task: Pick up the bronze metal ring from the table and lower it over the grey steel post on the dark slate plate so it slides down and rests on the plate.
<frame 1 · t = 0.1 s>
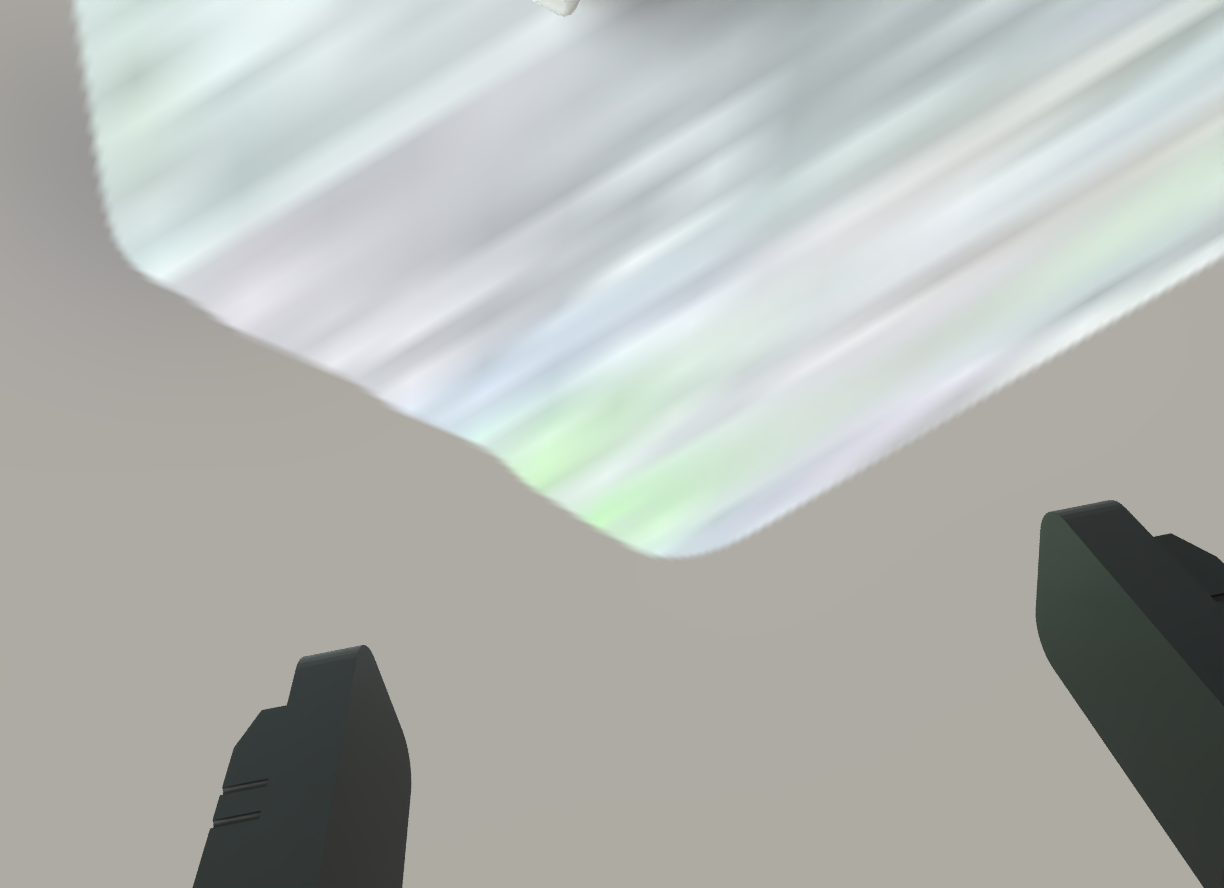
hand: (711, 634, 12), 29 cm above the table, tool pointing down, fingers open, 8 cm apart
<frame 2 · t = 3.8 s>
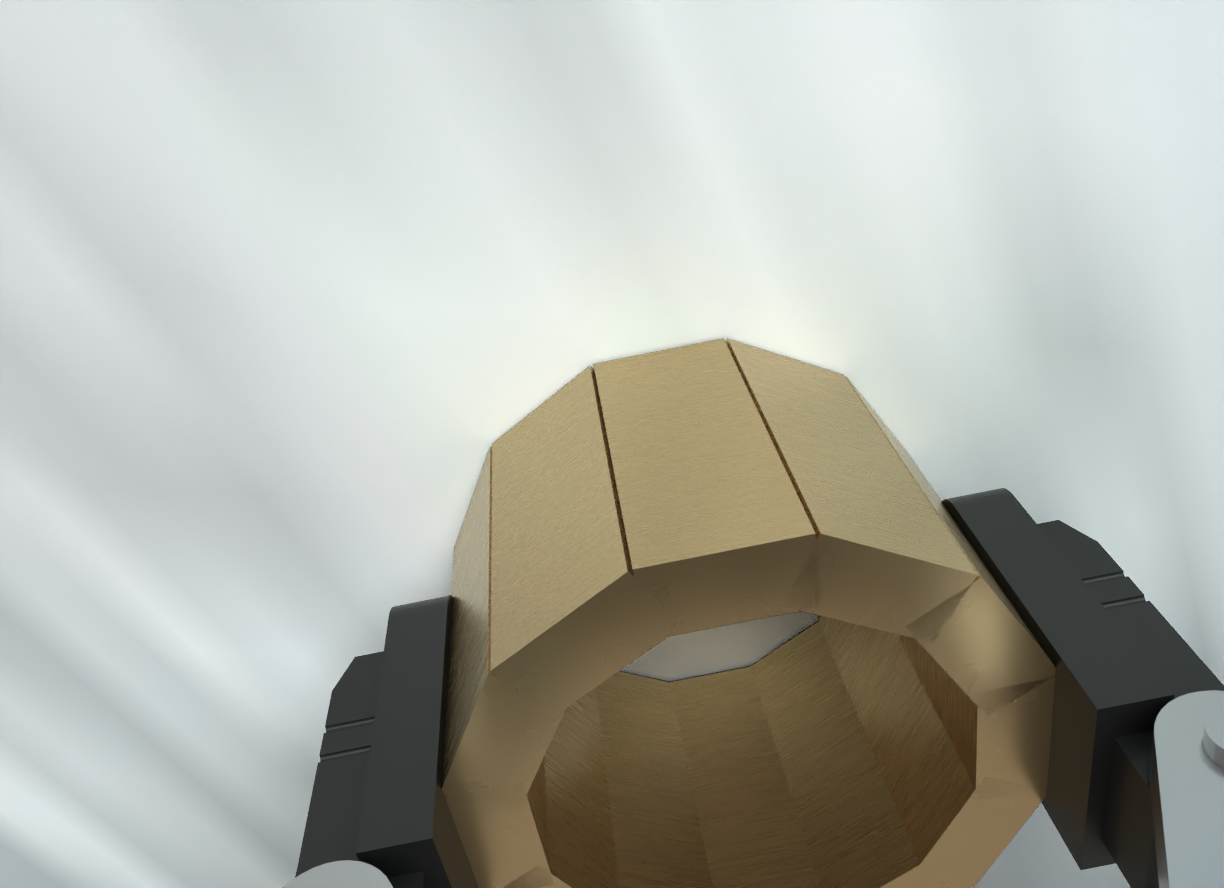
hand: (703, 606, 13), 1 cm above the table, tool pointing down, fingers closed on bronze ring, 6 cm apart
bronze ring: (690, 552, 13), on the table, touching gripper
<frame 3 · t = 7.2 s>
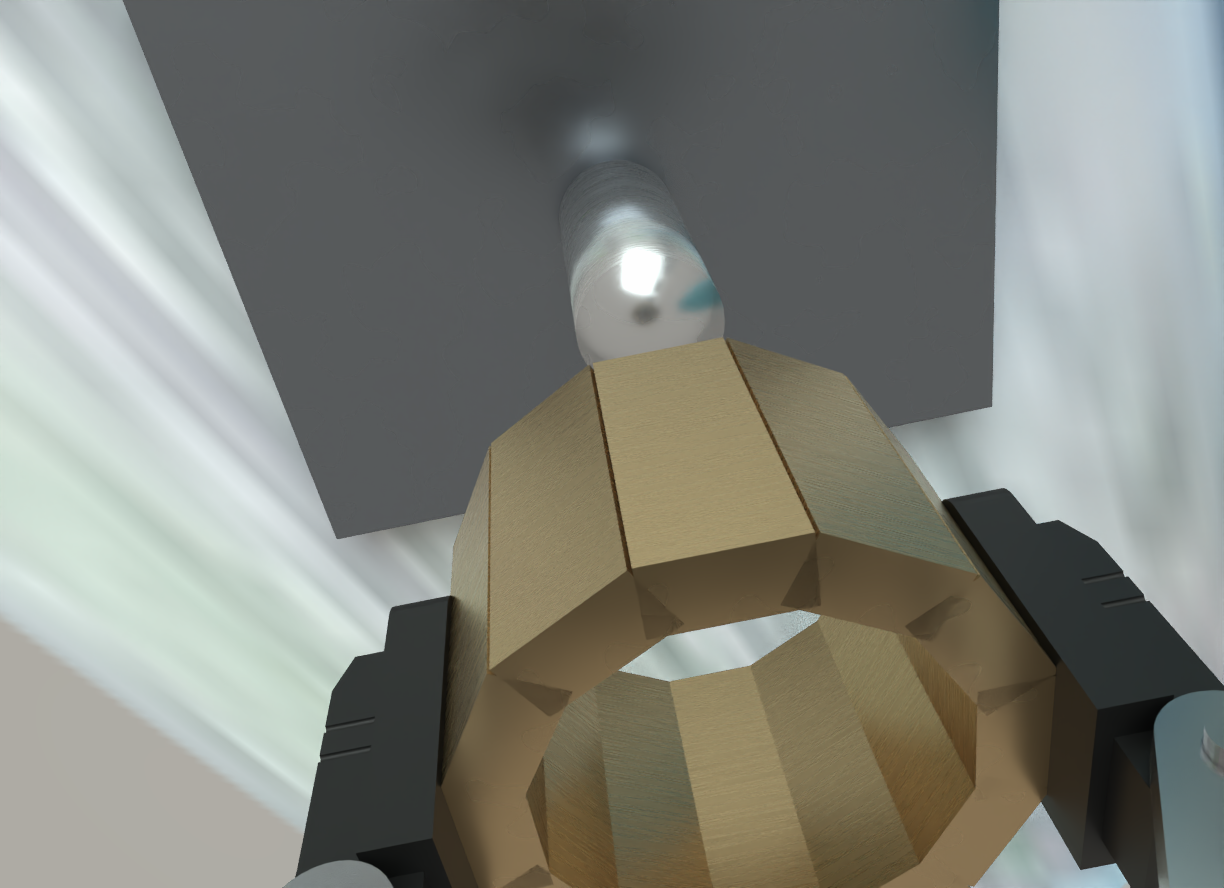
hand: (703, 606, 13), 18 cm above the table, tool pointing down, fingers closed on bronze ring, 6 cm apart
piston stand: (609, 195, 28), on the table
bronze ring: (690, 552, 13), point 17 cm above the table, touching gripper
when the fingers open (6 cm above the table, at t = 10.9 s): bronze ring drops 3 cm, resting on piston stand.
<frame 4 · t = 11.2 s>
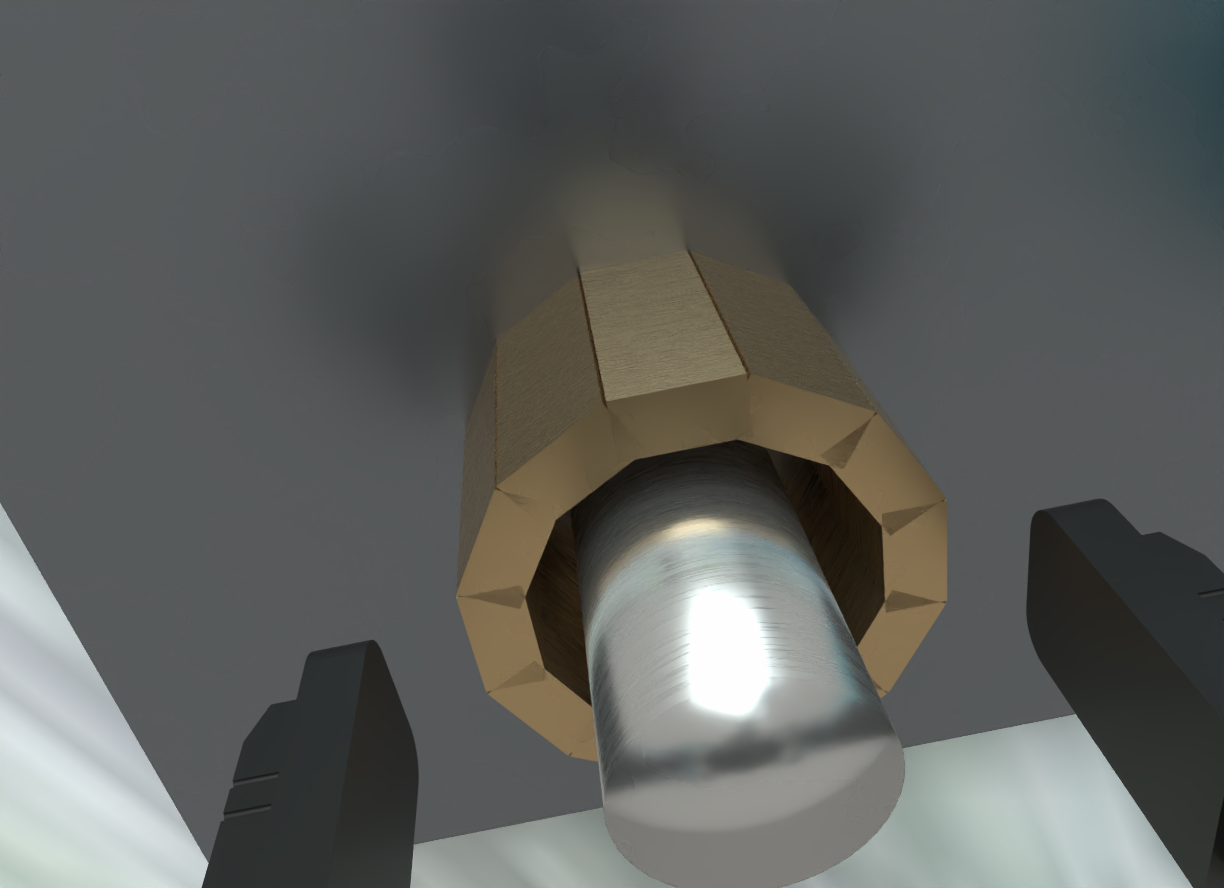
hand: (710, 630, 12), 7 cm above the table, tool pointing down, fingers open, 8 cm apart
piston stand: (642, 385, 18), on the table
bronze ring: (663, 439, 16), point 2 cm above the table, touching piston stand
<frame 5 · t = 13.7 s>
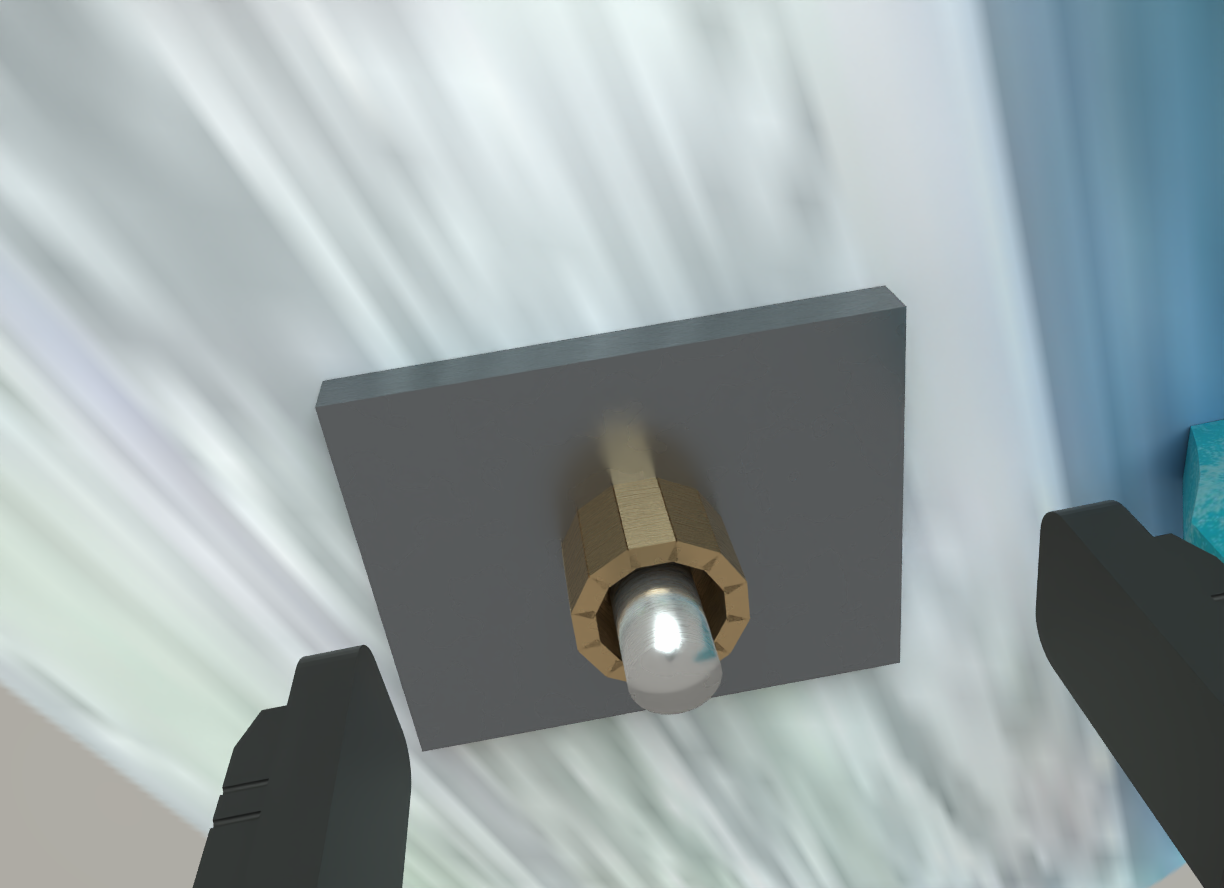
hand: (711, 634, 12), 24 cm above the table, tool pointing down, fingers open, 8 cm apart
piston stand: (634, 520, 40), on the table
bronze ring: (644, 548, 38), point 2 cm above the table, touching piston stand
crystal: (1193, 438, 41), on the table
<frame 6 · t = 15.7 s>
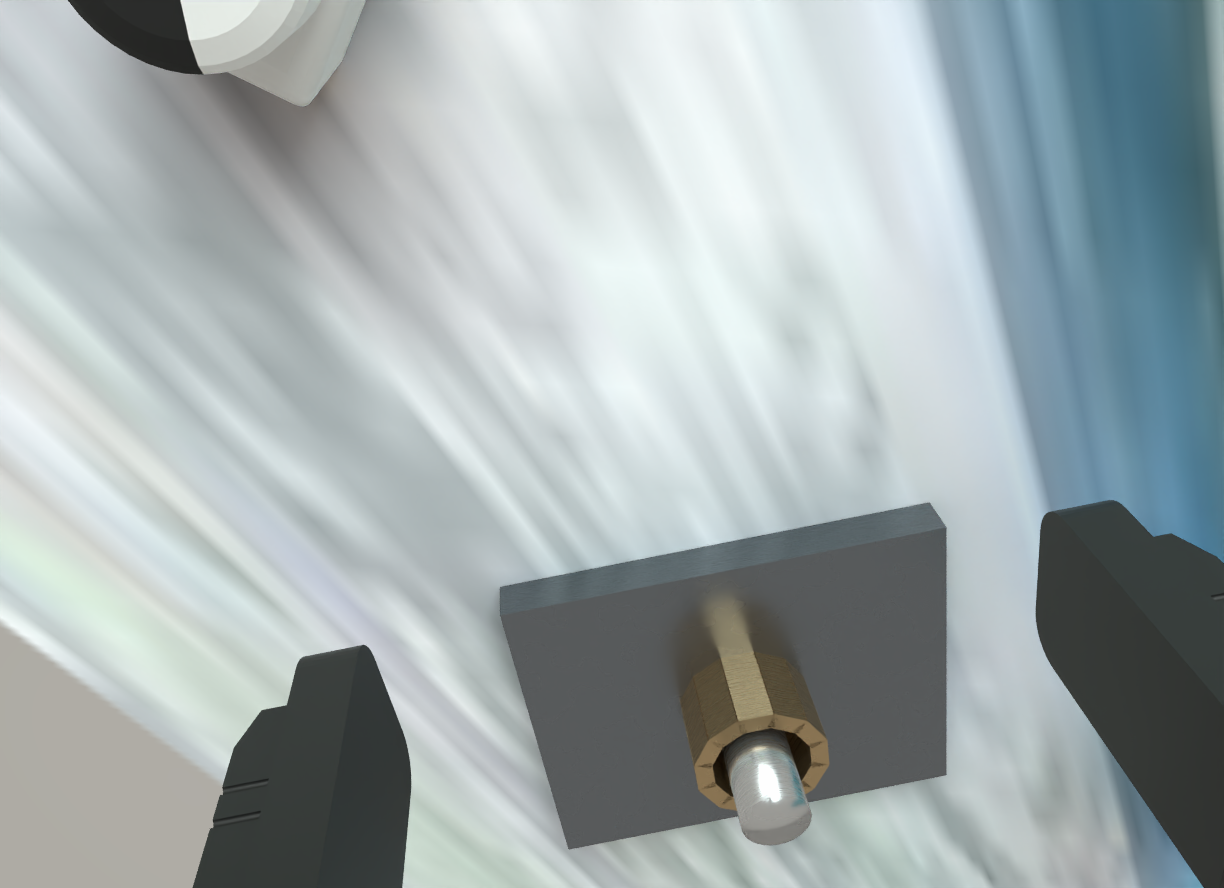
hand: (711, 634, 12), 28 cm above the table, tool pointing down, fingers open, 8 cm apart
piston stand: (733, 673, 50), on the table
bronze ring: (743, 701, 49), point 2 cm above the table, touching piston stand
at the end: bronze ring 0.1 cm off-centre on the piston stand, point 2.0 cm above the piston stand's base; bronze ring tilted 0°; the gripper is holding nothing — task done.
